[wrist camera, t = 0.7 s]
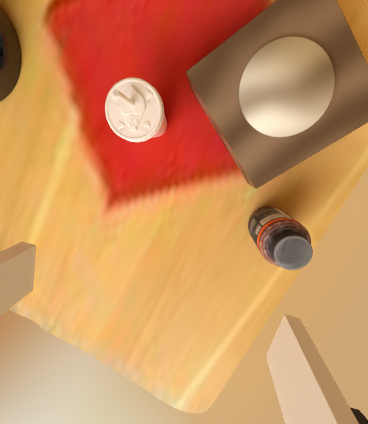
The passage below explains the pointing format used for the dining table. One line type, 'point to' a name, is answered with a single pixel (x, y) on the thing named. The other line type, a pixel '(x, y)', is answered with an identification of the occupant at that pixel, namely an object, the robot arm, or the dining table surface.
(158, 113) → the white drink cup
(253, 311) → the dining table surface
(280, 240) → the supplement bottle
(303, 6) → the stand
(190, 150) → the dining table surface
